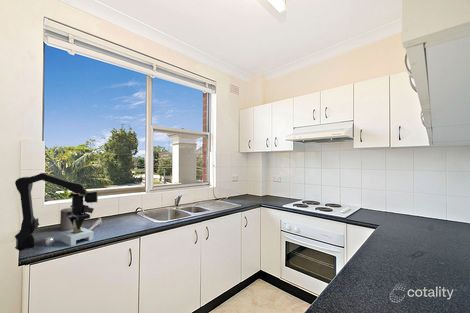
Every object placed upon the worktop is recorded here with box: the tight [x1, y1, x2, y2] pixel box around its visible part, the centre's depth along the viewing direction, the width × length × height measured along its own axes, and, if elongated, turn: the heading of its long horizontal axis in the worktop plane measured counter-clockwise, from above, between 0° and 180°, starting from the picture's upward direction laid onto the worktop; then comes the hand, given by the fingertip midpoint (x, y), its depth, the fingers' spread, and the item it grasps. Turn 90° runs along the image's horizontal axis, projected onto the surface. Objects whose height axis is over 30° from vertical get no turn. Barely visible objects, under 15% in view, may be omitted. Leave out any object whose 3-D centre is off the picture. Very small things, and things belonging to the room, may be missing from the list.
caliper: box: [87, 217, 102, 231], centre depth 154 cm, size 20×1×6 cm, turn 7°
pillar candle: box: [59, 207, 73, 232], centre depth 155 cm, size 10×10×15 cm
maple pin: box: [72, 221, 82, 234], centre depth 133 cm, size 4×4×8 cm
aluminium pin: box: [44, 236, 55, 247], centre depth 126 cm, size 4×4×4 cm
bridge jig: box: [60, 227, 95, 247], centre depth 133 cm, size 12×14×5 cm
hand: (77, 228), depth 133 cm, fingers closed on maple pin, 4 cm apart
